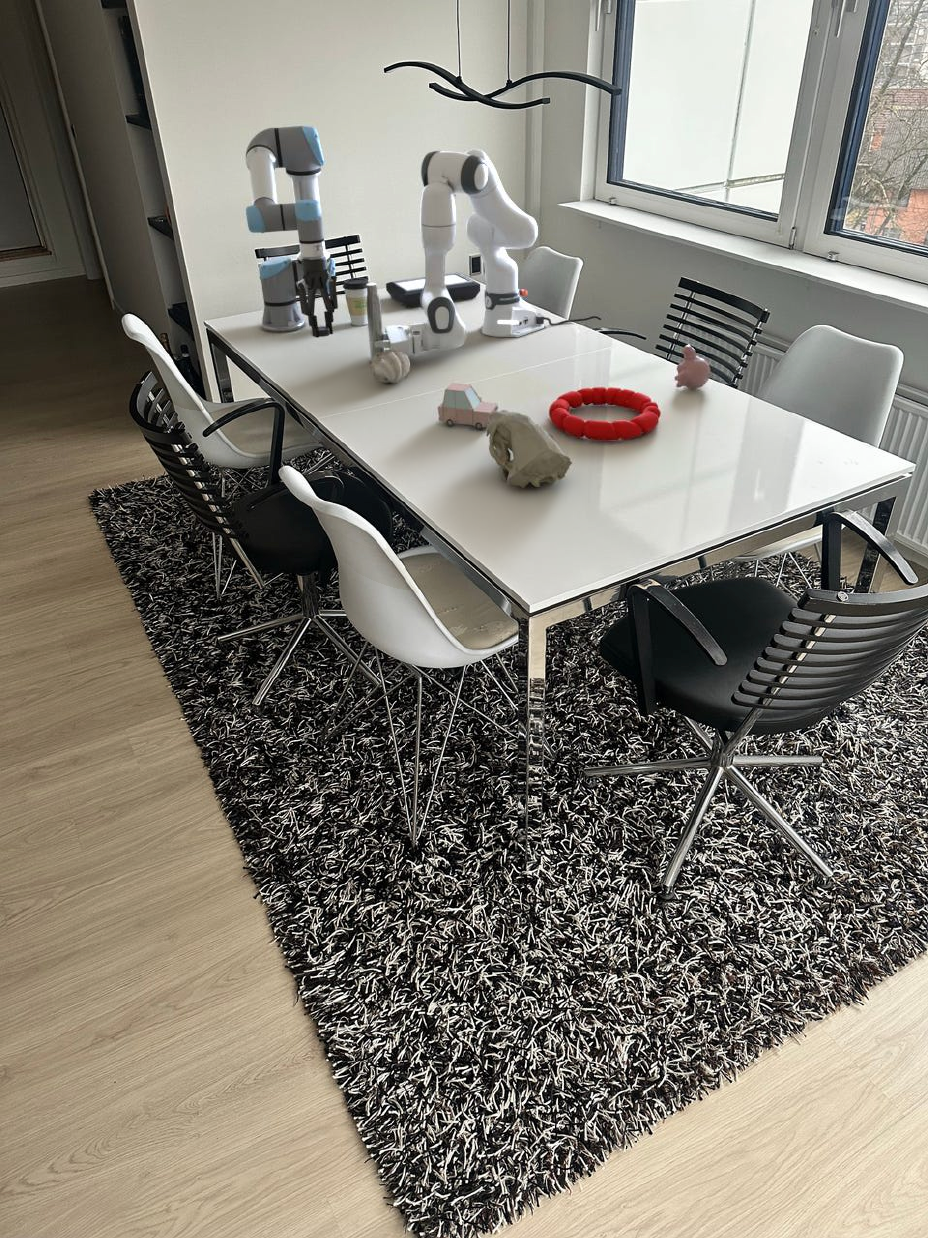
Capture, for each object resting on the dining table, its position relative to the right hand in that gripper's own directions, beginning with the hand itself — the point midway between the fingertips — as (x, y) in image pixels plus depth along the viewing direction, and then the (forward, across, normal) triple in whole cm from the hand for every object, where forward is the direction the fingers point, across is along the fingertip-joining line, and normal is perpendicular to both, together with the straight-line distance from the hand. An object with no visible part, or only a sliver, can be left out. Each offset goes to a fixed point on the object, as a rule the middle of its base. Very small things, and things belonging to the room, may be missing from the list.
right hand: (373, 341), depth 288 cm
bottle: (-1, 0, +7) cm, 7 cm away
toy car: (-21, +59, +7) cm, 63 cm away
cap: (+16, +3, -6) cm, 17 cm away
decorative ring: (-57, +67, +7) cm, 88 cm away
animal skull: (-28, +92, +7) cm, 96 cm away
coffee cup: (+2, -44, +7) cm, 45 cm away
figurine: (-89, +48, +6) cm, 102 cm away
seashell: (-4, +21, +7) cm, 23 cm away
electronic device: (-29, -71, +7) cm, 77 cm away
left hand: (+16, +3, -4) cm, 17 cm away
